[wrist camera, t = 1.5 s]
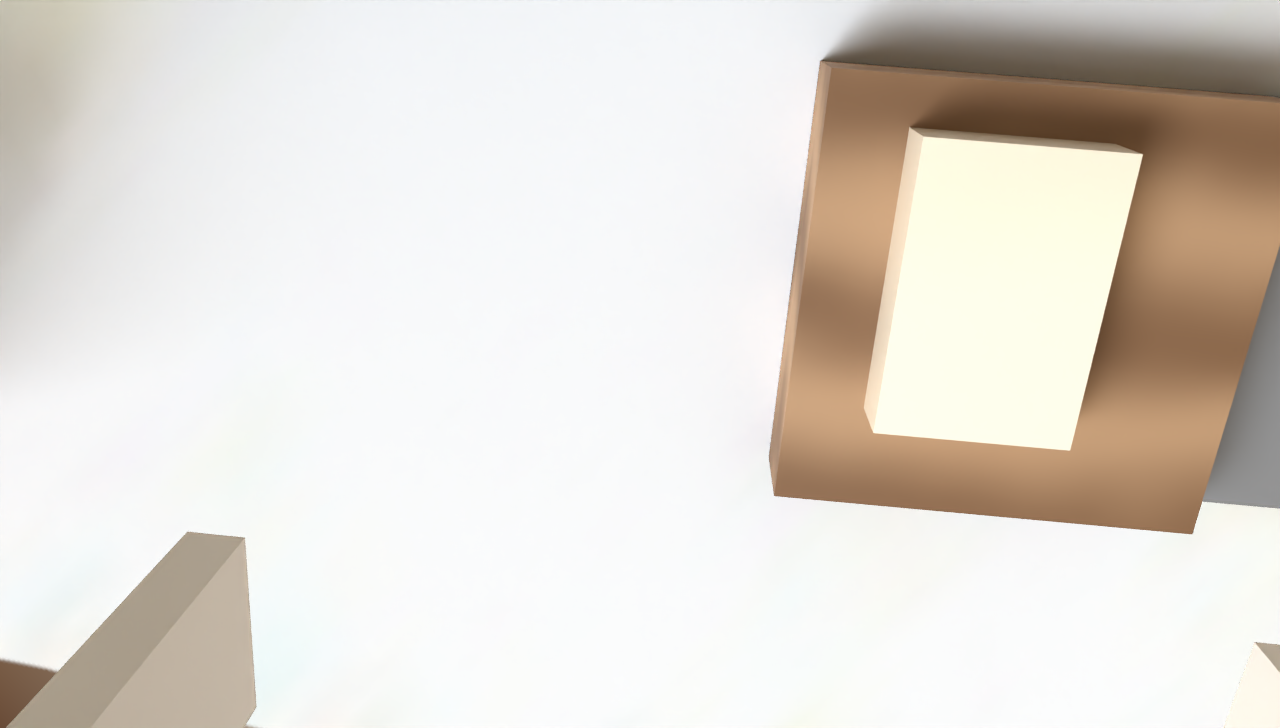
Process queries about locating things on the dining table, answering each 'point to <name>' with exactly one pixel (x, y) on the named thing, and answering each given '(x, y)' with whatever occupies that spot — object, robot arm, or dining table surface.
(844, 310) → the board
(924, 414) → the tile
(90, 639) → the robot arm
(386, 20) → the dining table surface
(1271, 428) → the mat
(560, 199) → the dining table surface
